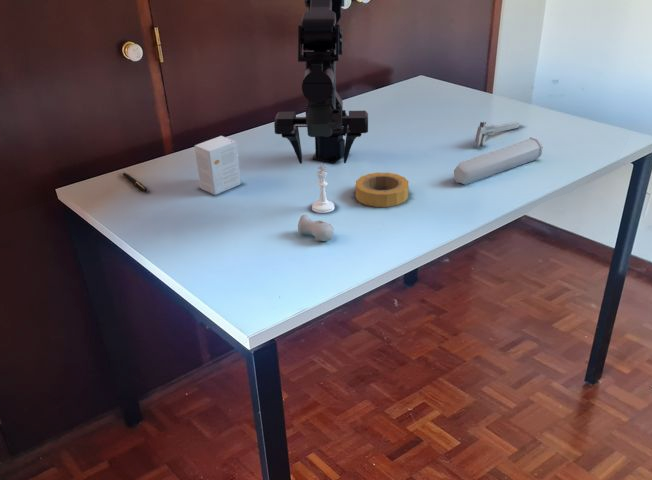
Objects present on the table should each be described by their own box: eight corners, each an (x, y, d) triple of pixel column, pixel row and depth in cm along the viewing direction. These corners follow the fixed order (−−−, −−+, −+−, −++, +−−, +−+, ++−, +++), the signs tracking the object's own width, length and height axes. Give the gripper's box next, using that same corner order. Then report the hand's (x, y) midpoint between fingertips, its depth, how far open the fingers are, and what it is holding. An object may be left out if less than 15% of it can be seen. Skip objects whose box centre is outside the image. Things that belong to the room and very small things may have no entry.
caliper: (478, 148, 178) (481, 124, 174) (474, 147, 179) (477, 123, 175) (520, 126, 190) (524, 102, 186) (517, 125, 190) (520, 102, 187)
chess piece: (326, 214, 151) (325, 170, 145) (307, 210, 153) (305, 166, 147) (338, 206, 155) (338, 162, 149) (319, 201, 157) (318, 158, 151)
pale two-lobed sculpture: (337, 244, 143) (321, 246, 140) (308, 231, 148) (292, 233, 144) (342, 223, 142) (325, 225, 138) (312, 211, 146) (296, 212, 142)
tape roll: (347, 201, 156) (346, 188, 155) (369, 181, 164) (369, 169, 163) (395, 211, 152) (395, 198, 150) (415, 190, 160) (416, 177, 158)
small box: (226, 178, 169) (221, 134, 162) (241, 184, 165) (237, 140, 159) (199, 188, 164) (193, 144, 158) (214, 195, 161) (208, 151, 155)
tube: (468, 173, 157) (546, 145, 167) (453, 159, 159) (530, 132, 170) (461, 192, 161) (537, 164, 171) (446, 178, 163) (522, 151, 174)
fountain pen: (119, 175, 172) (118, 169, 171) (124, 173, 173) (123, 168, 172) (144, 194, 163) (143, 188, 162) (149, 193, 163) (148, 187, 162)
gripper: (268, 100, 133) (274, 179, 142) (368, 99, 132) (367, 178, 141) (274, 82, 142) (279, 157, 151) (368, 81, 140) (367, 156, 150)
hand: (322, 162), depth 148 cm, fingers open, 9 cm apart
